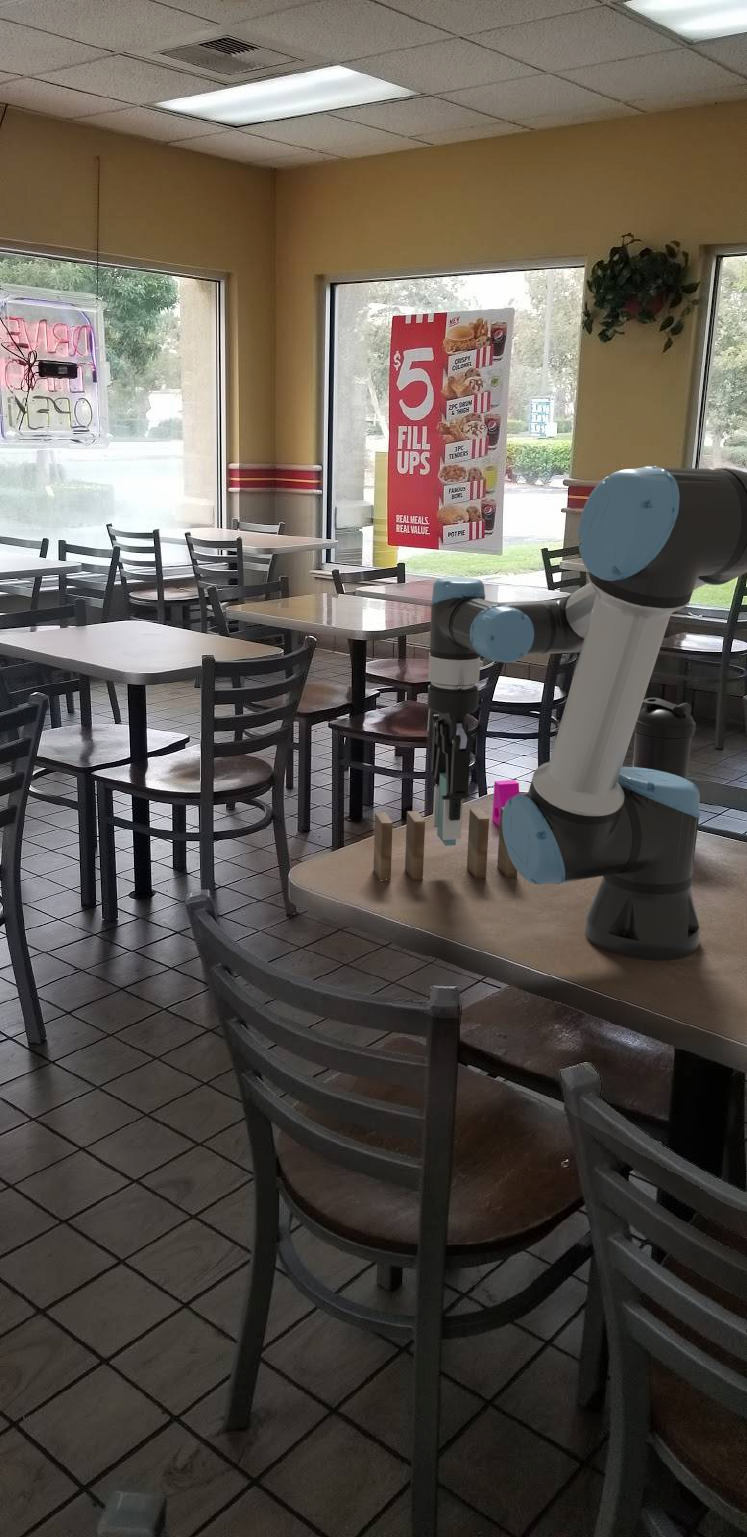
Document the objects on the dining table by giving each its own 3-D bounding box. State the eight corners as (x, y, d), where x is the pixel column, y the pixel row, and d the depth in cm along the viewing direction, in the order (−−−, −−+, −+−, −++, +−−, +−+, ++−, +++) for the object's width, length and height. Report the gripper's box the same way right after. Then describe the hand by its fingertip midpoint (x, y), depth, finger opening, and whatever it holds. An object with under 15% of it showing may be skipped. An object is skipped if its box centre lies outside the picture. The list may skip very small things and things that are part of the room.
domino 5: (506, 867, 191) (510, 807, 188) (516, 878, 186) (520, 817, 183) (497, 867, 190) (500, 807, 187) (506, 879, 186) (510, 817, 183)
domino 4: (476, 868, 190) (479, 808, 187) (485, 880, 185) (489, 818, 182) (466, 869, 189) (469, 808, 186) (475, 880, 185) (479, 818, 182)
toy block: (562, 847, 201) (565, 804, 199) (527, 850, 199) (530, 807, 197) (524, 819, 215) (527, 778, 212) (492, 821, 213) (494, 781, 211)
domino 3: (445, 845, 182) (448, 782, 179) (437, 834, 187) (439, 772, 184) (455, 845, 182) (458, 782, 180) (447, 834, 187) (450, 772, 184)
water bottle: (638, 817, 216) (649, 692, 210) (692, 829, 211) (706, 701, 204) (614, 831, 208) (625, 702, 202) (670, 844, 203) (684, 711, 196)
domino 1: (383, 873, 187) (385, 812, 184) (390, 885, 182) (392, 822, 179) (373, 874, 186) (375, 812, 183) (380, 886, 182) (382, 823, 179)
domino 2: (414, 871, 188) (417, 810, 185) (422, 883, 183) (425, 821, 180) (404, 872, 187) (407, 811, 184) (412, 884, 183) (414, 821, 180)
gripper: (496, 697, 170) (487, 851, 177) (461, 670, 187) (454, 812, 193) (445, 698, 168) (437, 854, 175) (414, 671, 185) (409, 814, 192)
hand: (446, 832), depth 184 cm, fingers closed on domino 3, 5 cm apart
